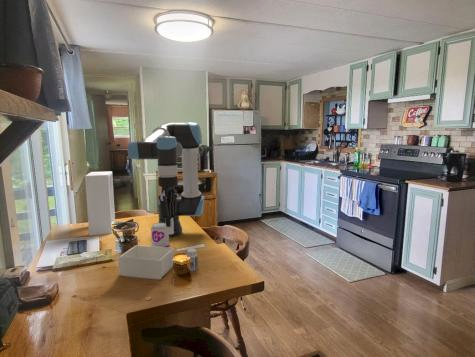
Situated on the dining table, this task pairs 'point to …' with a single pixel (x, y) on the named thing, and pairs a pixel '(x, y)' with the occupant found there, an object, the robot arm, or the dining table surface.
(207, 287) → the dining table surface
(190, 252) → the pill bottle
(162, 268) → the carton
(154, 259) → the flap
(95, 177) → the box
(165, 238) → the supplement can
